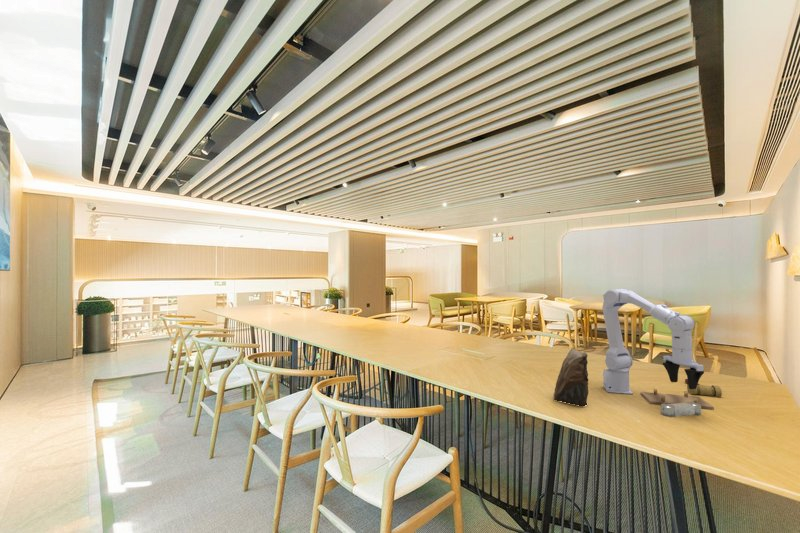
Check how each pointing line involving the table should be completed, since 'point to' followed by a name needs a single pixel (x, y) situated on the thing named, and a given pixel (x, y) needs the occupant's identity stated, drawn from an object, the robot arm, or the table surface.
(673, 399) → the board
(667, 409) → the silver ball-ended bar
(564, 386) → the dark brown rock
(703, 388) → the gavel
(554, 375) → the table surface
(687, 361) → the robot arm
